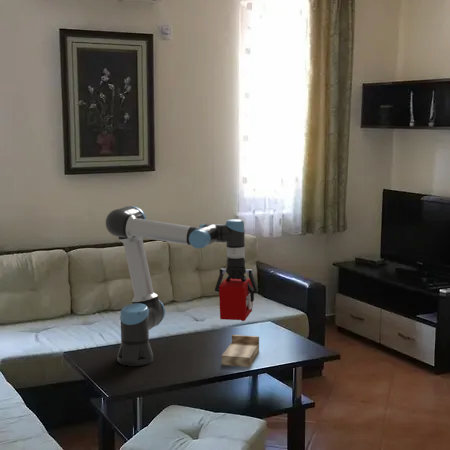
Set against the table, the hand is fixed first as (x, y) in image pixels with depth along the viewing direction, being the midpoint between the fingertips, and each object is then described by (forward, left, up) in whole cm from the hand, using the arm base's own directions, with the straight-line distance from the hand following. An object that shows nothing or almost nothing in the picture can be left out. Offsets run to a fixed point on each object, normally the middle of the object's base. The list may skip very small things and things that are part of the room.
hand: (236, 308), depth 289 cm
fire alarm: (0, 0, -3) cm, 3 cm away
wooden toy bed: (+1, +3, -23) cm, 23 cm away
